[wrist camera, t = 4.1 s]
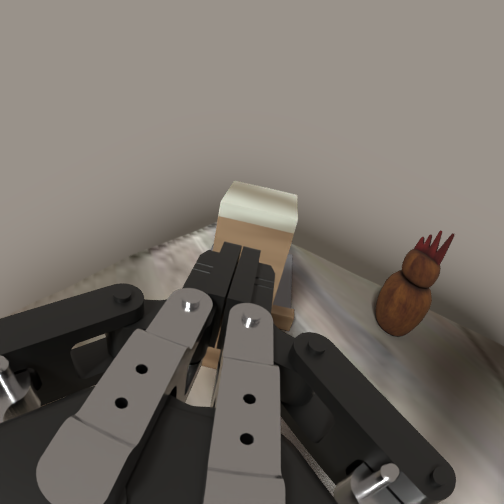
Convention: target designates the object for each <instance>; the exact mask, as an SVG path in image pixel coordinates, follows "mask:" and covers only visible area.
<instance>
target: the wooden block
mask: <svg viewBox="0 0 504 504" xmlns="http://www.w3.org/2000/svg"><path fill="white" fill-rule="evenodd" d="M297 221H298V210H297V195H294V194H290V193H286V192H282V191H278V190H273V189H269V188H265V187H261V186H256V185H252V184H247V183H243V182H238V181H234V182H233V184H232V185H231V187H230V188H229V190H228V191H227V193H226V194H225V196H224V198H223V199H222V201H221V204H220V210H219V215H218V221H217V228H216V234H215V240H214V246H213V251H215V252H220V250H221V248H222V246H223V243H224V241H225V242H229V243H233V244H237V245H241V246H242V249H243V246H246V247H250V248H254V249H258V250H261V253H260V258H259V263H263V264H267V265H271V266H272V268H273V270H274V272H275V282H274V291H273V301H272V305H273V302H274V299H275V295H276V292H277V289H278V286H279V282H280V279H281V276H282V272H283V269H284V266H285V262H286V259H287V255H288V252H289V249H290V245H291V242H292V238H293V235H294V231H295V228H296V224H297ZM242 249H241V252H242ZM240 256H241V254H240ZM239 259H240V258H239ZM220 329H221V328H220ZM219 334H220V331H219ZM218 338H219V335H218ZM218 338H217V341H216V345H215V348H212V347H208V349H207V352H206V355H205V357H204V358H203V362H202V366H206V367H209V368H213V369H217V365H218V361H219V356H220V352H221V350H220V349H216V348H217V343H218Z"/></svg>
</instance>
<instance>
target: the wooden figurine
mask: <svg viewBox="0 0 504 504" xmlns="http://www.w3.org/2000/svg"><path fill="white" fill-rule="evenodd" d="M441 235H442V231H440V232H439V233H438V235H437V236H436V238H435V240H434V242H433V243H432V245H431V246H430V243H431V239H432V235H429V237H428V239H427V240H426V242H425V243H424V237H422V238H421V239H420V240H419V242H418V243H417V245H416V246H415V248H414V249H412V250H411V251H409V252H408V254H407V255H406V257H405V258H404V261H403V264H402V270H400V271H398V272H396V273H394V274H392V275H391V276H390V277H389V278H388V279H387V280H386V282H385V284H384V285H383V287H382V289H381V292H380V294H379V296H378V300H377V304H376V318H377V321H378V323H379V325H380V326H381V327H382V328H383V330H385V331H386V332H387V333H389V334H391V335H393V336H403V335H406V334H407V333H409V332H410V331H411V330H413V329H414V328H415V327H416V326H417V325H418V324H419V323H420V322H421V321H422V320H423V318H424V317H425V315H426V314H427V312H428V310H429V308H430V305H431V301H432V300H431V291H430V289H429V287H431V286H432V285H433V284H434V283H435V281H436V280H437V278H438V276H439V274H440V263H441V262H442V260H443V258H444V256H445V254H446V252H447V250H448V248H449V246H450V244H451V242H452V239H453V237H454V234H452V235H451V236H450V237H449V238H448V239H447V240H446V242H445V243H444V244H443V245H442V246H441V248H440V249H439V250H438V251H437V249H438V246H439V242H440V238H441Z"/></svg>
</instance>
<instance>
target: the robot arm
mask: <svg viewBox="0 0 504 504" xmlns="http://www.w3.org/2000/svg"><path fill="white" fill-rule="evenodd" d="M241 249H242V246H241V245H237V244H233V243H229V242H225V241H224V243H223V246H222V248H221V250H220V252H215V251H211V250H208V251H206V252H204V253H203V254H201V255H200V256H199V258H198V260H197V262H196V264H195V266H194V267H193V269H192V271H191V273H190V275H189V277H188V279H187V280H186V282H185V284H184V286H183V288H182V289H178V290H176V291H174V292H173V293H172V294H171V295H170V296H169V298H168V299H167V300H144V295H143V293H142V291H141V290H140V289H139V288H137V287H135V286H133V285H130V284H114V285H111V286H107V287H104V288H101V289H97V290H94V291H91V292H87V293H84V294H81V295H77V296H74V297H71V298H67V299H64V300H61V301H57V302H54V303H51V304H47V305H44V306H41V307H37V308H34V309H31V310H27V311H24V312H21V313H18V314H14V315H11V316H8V317H5V318H1V319H0V504H437V503H439V502H440V501H442V500H444V499H446V498H447V497H449V496H450V495H451V494H452V492H453V490H454V488H455V484H456V477H455V473H454V470H453V468H452V467H451V465H450V464H449V463H448V462H447V461H446V460H445V459H444V458H443V457H442V456H441V455H440V454H439V453H438V452H437V451H436V450H435V449H434V448H433V447H432V446H431V445H430V444H429V443H428V442H427V440H426V439H425V438H424V437H423V436H422V435H421V434H420V433H419V432H418V431H417V430H416V429H415V428H414V427H413V426H412V425H411V424H410V423H409V422H408V421H407V420H406V419H405V418H404V417H403V416H402V415H401V414H400V413H399V412H398V411H397V410H396V408H395V407H394V406H393V405H392V404H391V403H390V402H389V401H388V400H387V399H386V398H385V397H384V396H383V395H382V394H381V393H380V392H379V391H378V390H377V389H376V388H375V387H374V386H373V385H372V384H371V383H370V382H369V380H368V379H367V378H366V377H365V376H364V375H363V374H362V373H361V372H360V371H359V370H358V369H357V368H356V367H355V366H354V365H353V364H352V363H351V362H350V361H349V360H348V359H347V358H346V357H345V356H344V355H343V353H342V352H341V351H340V350H339V349H338V348H337V347H336V346H335V345H334V344H333V343H332V342H331V341H330V340H329V339H327V338H326V337H324V336H322V335H320V334H317V333H311V332H307V333H302V334H300V335H298V336H297V337H296V338H294V337H292V336H290V335H288V334H286V333H284V332H283V331H281V330H280V329H279V328H277V327H276V325H275V324H274V323H273V318H272V316H271V309H272V301H273V291H274V282H275V272H274V270H273V268H272V266H271V265H267V264H263V263H259V258H260V253H261V250H258V249H254V248H250V247H246V246H243V249H242V252H241ZM240 254H241V256H240ZM239 258H240V259H239ZM220 328H221V329H220ZM219 331H220V334H219ZM102 334H105V335H106V338H103V339H100V340H97V341H95V342H92V343H89V344H86V345H83V346H81V347H78V348H75V349H72V347H73V346H74V345H75V344H77V343H79V342H82V341H85V340H88V339H91V338H93V337H96V336H99V335H102ZM218 335H219V338H218ZM217 338H218V343H217V348H216V349H220V350H221V352H220V356H219V361H218V365H217V370H216V376H215V382H214V388H213V394H212V400H211V406H210V407H198V406H191V405H188V404H186V403H185V402H186V400H187V397H188V395H189V393H190V390H191V388H192V386H193V383H194V381H195V379H196V377H197V374H198V372H199V370H200V367H201V365H202V362H203V358H204V357H205V355H206V352H207V349H208V347H212V348H215V345H216V341H217ZM71 349H72V350H71ZM96 384H97V385H96ZM94 385H96V386H94ZM91 386H92V387H91ZM68 395H69V396H68ZM63 397H64V398H63ZM61 398H62V399H61ZM58 399H59V400H58ZM55 400H57V401H55ZM53 401H55V402H53ZM50 402H52V403H50ZM47 403H50V404H47ZM44 404H47V405H45V406H42V405H44ZM40 406H42V407H40ZM280 416H281V417H282V418H283V420H284V421H285V422H286V424H287V425H288V426H289V427H290V429H291V430H292V431H293V433H294V434H295V435H296V437H297V438H298V439H299V440H300V442H301V443H302V444H303V446H304V447H305V448H306V449H307V451H308V452H309V453H310V454H311V456H312V457H313V458H314V459H315V461H316V462H317V463H318V464H319V466H320V467H321V468H322V469H323V470H324V472H325V473H326V474H327V475H328V477H329V478H330V479H331V480H332V481H333V483H334V484H335V485H336V487H335V490H334V497H333V496H332V495H331V493H330V492H329V491H328V490H327V488H326V487H325V486H324V484H323V483H322V482H321V480H320V479H319V478H318V476H317V475H316V474H315V472H314V471H313V470H312V468H311V467H310V466H309V464H308V463H307V462H306V460H305V459H304V458H303V456H302V455H301V453H300V452H299V451H298V449H297V448H296V447H295V446H294V445H293V444H292V443H291V442H290V441H289V440H288V439H287V438H286V437H284V436H283V435H282V434H281V427H280Z"/></svg>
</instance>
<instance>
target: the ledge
mask: <svg viewBox="0 0 504 504" xmlns="http://www.w3.org/2000/svg"><path fill="white" fill-rule="evenodd" d="M271 316H272V318H273V323H274V324H275V325H276V327H277V328H279V329H282V330H286V331H289V330H290V327H291V325H292V322H293V320H294V309H290V308H286V307H281V306H277V305H272V309H271Z"/></svg>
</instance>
